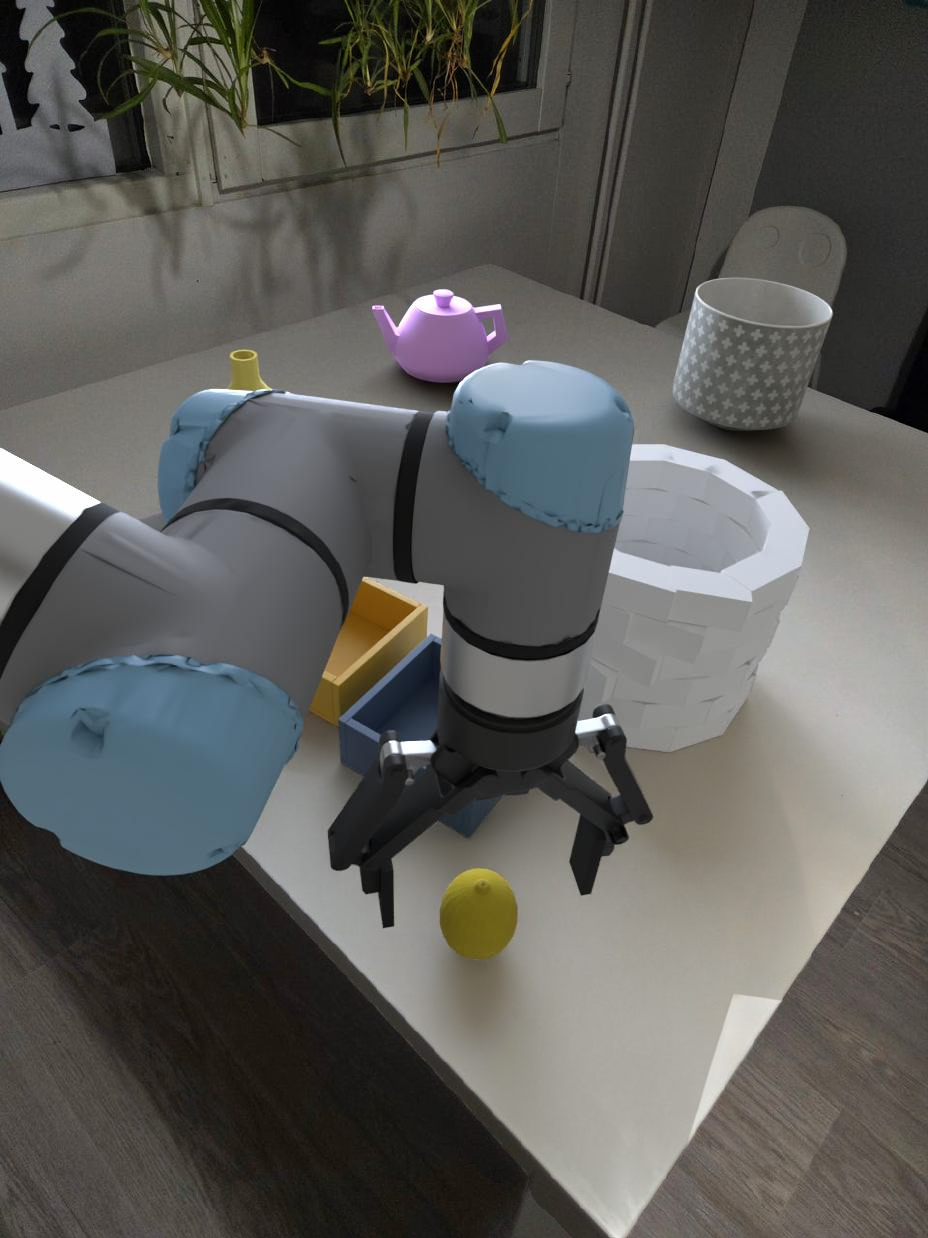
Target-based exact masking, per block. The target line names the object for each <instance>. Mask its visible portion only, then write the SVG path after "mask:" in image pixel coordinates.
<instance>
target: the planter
mask: <svg viewBox="0 0 928 1238" xmlns="http://www.w3.org/2000/svg"><path fill="white" fill-rule="evenodd" d="M833 311H834V310H833V309H832V307H831V306H830V304H829V303H827V302H826V300H824V299H822V297H821V298H820V297H819V296H818V295H815V293H811V292H809V291H807V290H805V289H802V288H799V287H797V286H793V285H789V284H785V283H782V282H777V281H771V280H766V279H760V278H759V279H758V278H751V277H750V278H749V277H723V278H722V277H721V278H714V279H711V280H710V279H709V280H708V281H704V282H702V283H701V284H699V285H698V286H697V287H696V289H695V292H694V297H693V301H692V305H691V309H690V313H689V317H688V321H687V324H686V330H685V333H684V338H683V342H682V345H681V346H682V347H681V351H680V353H679V358H678V362H677V366H676V371H675V375H674V379H673V383H672V388H671V394H672V395H671V396H672V398H673V399H674V401H675V403H677V404H678V406H680V407H681V409H684V411H686V412H688V413H690V414H691V415H693V416H695V417H697V418H699V419H700V420H702V421H704V423H705V422H706V423H707V424H709V425H710V426H711V425H712V426H714V427H717V428H720V429H723V430H728V431H735V432H749V431H765V430H773V429H778V428H782V427H786V426H787V425H789V424H791V423H793V422H794V421H795V419H796V418H797V417H798V415H799V411H800V408H801V406H802V404H803V400H804V397H805V395H806V391H807V389H808V385H809V384H810V381H811V378H812V375H813V372H814V370H815V367H816V364H817V361H818V358H819V356H820V353H821V350H822V347H823V344H824V341H825V339H826V335H827V333H828V330H829V327H830V324H831V322H832V319H833V316H834V312H833Z"/></svg>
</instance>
